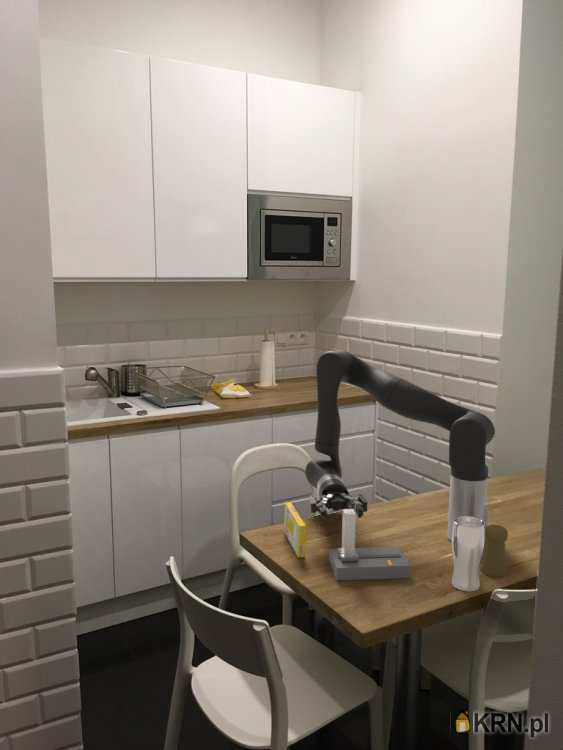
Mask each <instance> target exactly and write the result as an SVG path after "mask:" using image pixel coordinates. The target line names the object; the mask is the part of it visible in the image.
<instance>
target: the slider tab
mask: <svg viewBox="0 0 563 750" xmlns="http://www.w3.org/2000/svg"><path fill="white" fill-rule="evenodd" d="M356 517H357V514H356V512H355V511H354V509H343V510H342V518H341V519H342V524H341V525H342V526H341V547H337V548H338V554H339V557H340V559H341V562H342V561H359V556H358V554H357V552H356V550H355V548H356V527H357V526H356V523H357V522H356V521H357V518H356Z"/></svg>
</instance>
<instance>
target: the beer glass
mask: <svg viewBox="0 0 563 750" xmlns="http://www.w3.org/2000/svg"><path fill="white" fill-rule="evenodd" d="M485 544H486V543H485V522H484V521H483V520H481V519H479V518H476V517H472V516H459V517H456V518H455V519H454V525H453V531H452V541H451V550H452V557H453V574H452V578H451V585H452V587H453V588H455V589H456V588H457V590H458V591H462V592H468V593H469V592H475V591H478V590H479V589H480V587H481V586H480V583H481V582H480V578H479V577H480V576H479V574H480V573H479V572H480V567H481V562H482V558H483V553H484V548H485Z"/></svg>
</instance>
